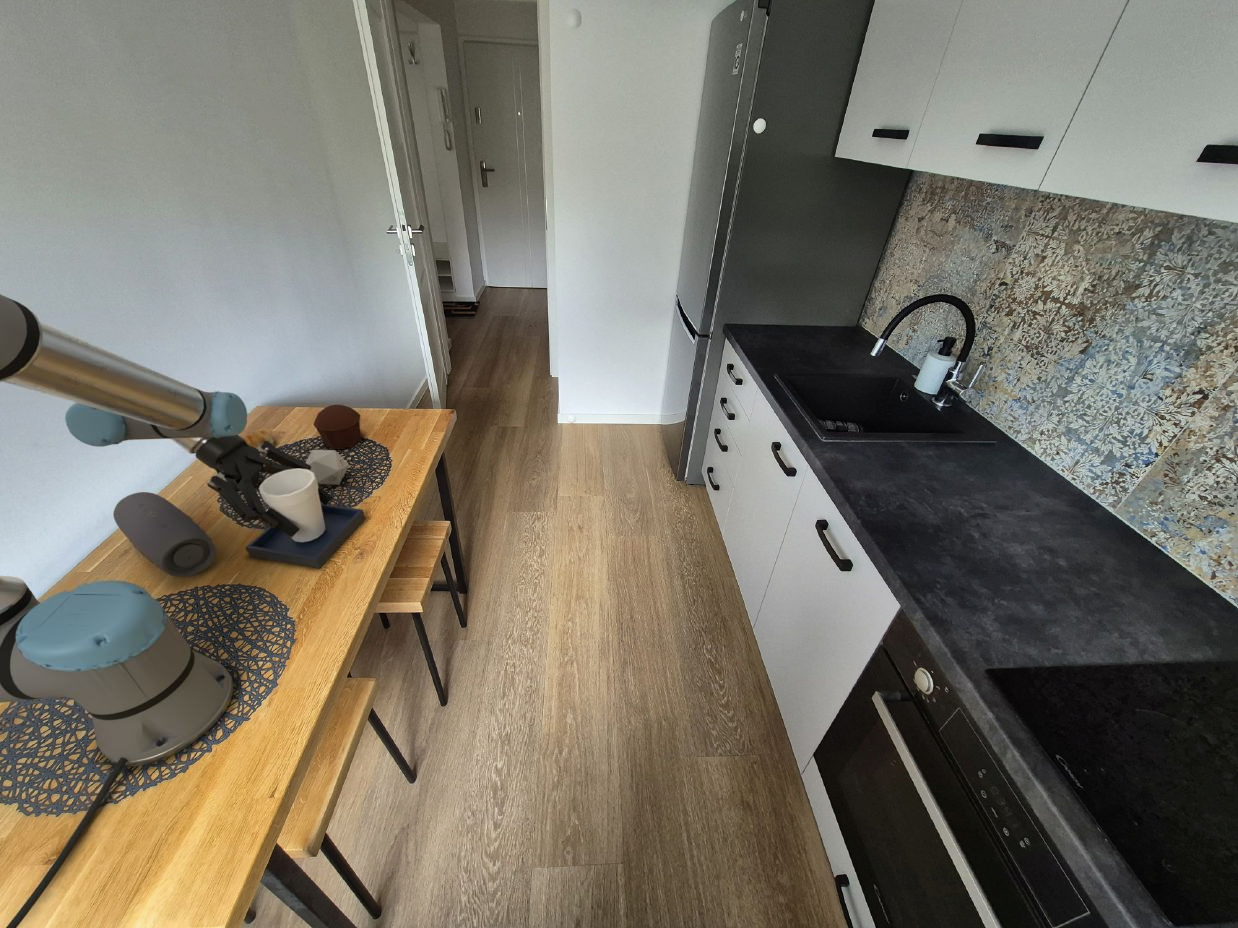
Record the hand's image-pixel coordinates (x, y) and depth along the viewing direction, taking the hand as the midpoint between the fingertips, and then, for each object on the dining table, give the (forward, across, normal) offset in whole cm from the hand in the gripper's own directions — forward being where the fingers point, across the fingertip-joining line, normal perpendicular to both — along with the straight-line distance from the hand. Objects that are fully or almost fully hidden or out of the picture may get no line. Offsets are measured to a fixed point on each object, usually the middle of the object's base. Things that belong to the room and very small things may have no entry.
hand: (313, 516), depth 101 cm
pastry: (-23, +28, +32) cm, 48 cm away
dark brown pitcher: (-16, +12, +25) cm, 32 cm away
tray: (+2, 0, +6) cm, 7 cm away
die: (-3, +18, +12) cm, 22 cm away
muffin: (-9, +36, +18) cm, 41 cm away
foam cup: (+2, 0, +5) cm, 6 cm away
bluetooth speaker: (-13, -10, +22) cm, 28 cm away
